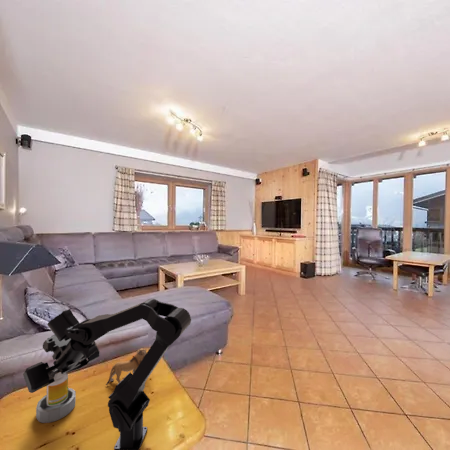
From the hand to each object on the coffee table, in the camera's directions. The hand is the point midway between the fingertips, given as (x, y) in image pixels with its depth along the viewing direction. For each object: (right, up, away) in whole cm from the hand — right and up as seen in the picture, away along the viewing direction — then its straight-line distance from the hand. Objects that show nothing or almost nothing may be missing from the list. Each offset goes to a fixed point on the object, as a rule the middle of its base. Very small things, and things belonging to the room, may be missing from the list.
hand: (55, 376), depth 72 cm
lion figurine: (+16, -10, +15) cm, 25 cm away
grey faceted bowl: (+1, -10, -1) cm, 10 cm away
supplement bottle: (+1, -7, -1) cm, 7 cm away
